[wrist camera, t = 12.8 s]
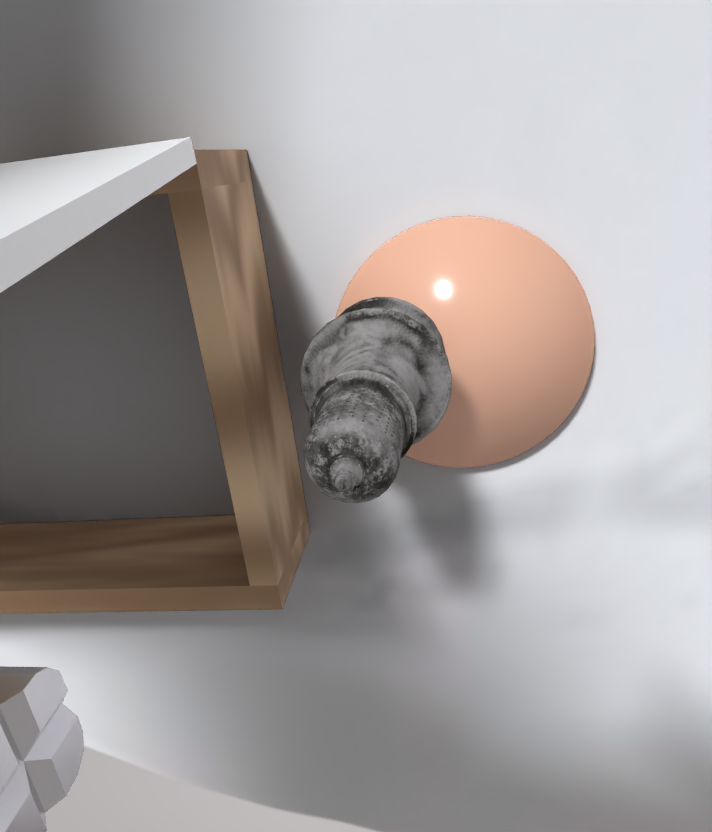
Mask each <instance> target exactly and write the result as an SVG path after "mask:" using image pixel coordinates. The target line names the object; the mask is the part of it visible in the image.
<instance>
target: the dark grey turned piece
mask: <svg viewBox="0 0 712 832" xmlns="http://www.w3.org/2000/svg"><path fill="white" fill-rule="evenodd" d="M300 378H301V392H302V395H303V398H304V401H305V404H306V407H307V410H308V411H309V417H310V428H311V430H310V432H309V434H308V436H307V438H306V442H305V446H304V464H305V468H306V471H307V473H308V476H309V477H310V479H311V480H312V482H313V483H314V485H315V486H316V487H317V488H319V489H320V490H321V491H322V492H323V493H324V494H326V495H328V496H330V497H332V498H333V499H336V500H339V501H343V502H349V503H360V502H366V501H370V500H372V499H374V498H376V497H379V496H380V495H381V494H382V493H384V492H385V491H386V490H387V489H388V488H389V486H390V485H391V483H392V482H393V480H394V479H395V477H396V475H397V471H398V468H399V464H400V459H401V458H402V457H403V456H404V455H405V454H406V453H407V452H408V450H409V449H410V447H411V446H412V445H414V444H416V443H418V442H420V441H421V440H422V439H424V438H425V437H426V436H427V435H428V434H429V433H431V432H432V431H433V430H434V429H435V428H436V426H437V425H438V424H439V422H440V421H441V419H442V418H443V416H444V415H445V413H446V410H447V407H448V404H449V401H450V398H451V388H452V374H451V370H450V366H449V362H448V357H447V355H446V353H445V349H444V345H443V341H442V337H441V334H440V332H439V331H438V329H437V327H436V325H435V323H434V322H433V320H432V319H431V318H430V317H429V316H428V315H427V314H426V313H425V312H424V311H423V310H421V309H420V308H418V307H416V306H415V305H413V304H411V303H410V302H408V301H404V300H401V299H397V298H394V297H373V298H369V299H365V300H361V301H359V302H357V303H355V304H353V305H352V306H350V307H348V308H346V309H345V310H344V311H343V312H342V313H341V314H340V315H339V316H338V317H337V318H336V319H334V320H332V321H331V322H329V323H327V324H326V325H325V326H324V327H323V328H322V329H321V330H320V331H319V332H318V333H317V334H316V335H315V336H314V338H313V339H312V341H311V343H310V345H309V347H308V349H307V350H306V352H305V354H304V358H303V363H302V367H301V371H300Z"/></svg>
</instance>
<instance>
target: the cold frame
mask: <svg viewBox="0 0 712 832" xmlns="http://www.w3.org/2000/svg"><path fill="white" fill-rule="evenodd" d="M194 152H195V157H196V160H197V161H196V163H197V164H195V165H194V166H192V167H191V168H189V169H188V170H186V171H184V172H183V173H181V174H180V175H178V176H177V177H175V178H174V179H172V180H171V181H169V182H168V183H166V184H165V185H163V186H162V187H160V188H159V189H157V190H156V191H154V192H153V193H151V194H150V195H158V194H166V193H167V194H168V199H169V204H170V208H171V213H172V218H173V223H174V227H175V232H176V237H177V242H178V246H179V251H180V256H181V261H182V265H183V270H184V275H185V280H186V284H187V289H188V294H189V299H190V303H191V308H192V313H193V318H194V322H195V327H196V332H197V337H198V341H199V346H200V351H201V356H202V360H203V365H204V370H205V375H206V379H207V384H208V389H209V394H210V398H211V403H212V408H213V413H214V417H215V422H216V427H217V432H218V436H219V441H220V446H221V451H222V455H223V460H224V465H225V470H226V474H227V479H228V484H229V489H230V493H231V498H232V503H233V508H234V512H235V515H221V516H195V517H170V518H145V519H120V520H95V521H70V522H45V523H20V524H0V613H61V612H128V611H195V610H261V609H283V606H284V603H285V601H286V598H287V595H288V593H289V590H290V587H291V584H292V582H293V579H294V576H295V573H296V571H297V568H298V565H299V562H300V560H301V557H302V554H303V551H304V549H305V546H306V543H307V541H308V538H309V535H310V528H309V522H308V516H307V510H306V504H305V498H304V492H303V486H302V480H301V474H300V468H299V462H298V456H297V450H296V444H295V438H294V432H293V426H292V420H291V414H290V408H289V402H288V396H287V390H286V384H285V378H284V372H283V366H282V360H281V354H280V348H279V342H278V336H277V330H276V324H275V318H274V312H273V306H272V300H271V294H270V288H269V282H268V276H267V270H266V264H265V258H264V252H263V246H262V240H261V234H260V228H259V222H258V216H257V209H256V203H255V197H254V191H253V185H252V179H251V173H250V167H249V161H248V155H247V150H194ZM150 195H148V196H150Z"/></svg>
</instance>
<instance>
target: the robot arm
mask: <svg viewBox="0 0 712 832" xmlns="http://www.w3.org/2000/svg"><path fill="white" fill-rule="evenodd" d="M67 691H68V690H67V687H66V685H65V683H64V681H63V678H62V676H61V674H60V671H59V670H55V669H51V668H48V667H2V666H0V832H46V831H47V828H46V817H45V812H46V811H48V810H49V809H50V808H51V807H53V806H54V805H55V804H56V803H58V802H59V801H60V800H62V799H63V798H64V797H65V796H66V795H67V793H68V792H69V790H70V788H71V786H72V784H73V783H74V781H75V779H76V777H77V775H78V772H79V768H80V764H81V759H82V756H83V752H84V741H83V730H82V727H81V724H80V722H79V719H78V716H76V715H75V714H74V713H73V712H72V711H71V710H69V709H68V708H67V707H66V706H65V705H63V704H62V702H63V700H64V697H65V695H66V693H67Z"/></svg>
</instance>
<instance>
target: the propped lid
mask: <svg viewBox="0 0 712 832" xmlns="http://www.w3.org/2000/svg"><path fill="white" fill-rule="evenodd" d="M196 161H197V160H196V157H195V152H194V148H193V145H192V141H191V137H187V138H180V139H173V140H166V141H159V142H151V143H144V144H137V145H130V146H123V147H116V148H109V149H102V150H94V151H87V152H80V153H73V154H66V155H59V156H52V157H45V158H37V159H30V160H23V161H16V162H9V163H2V164H0V293H1V292H3V291H4V290H6V289H7V288H9V287H10V286H12V285H13V284H15V283H16V282H18V281H19V280H21V279H22V278H24V277H25V276H27V275H28V274H30V273H31V272H33V271H34V270H36V269H37V268H39V267H41V266H42V265H44V264H45V263H47V262H48V261H50V260H51V259H53V258H54V257H56V256H57V255H59V254H60V253H62V252H63V251H65V250H66V249H68V248H69V247H71V246H72V245H74V244H75V243H77V242H78V241H80V240H81V239H83V238H84V237H86V236H87V235H89V234H91V233H92V232H94V231H95V230H97V229H98V228H100V227H101V226H103V225H104V224H106V223H107V222H109V221H110V220H112V219H113V218H115V217H116V216H118V215H119V214H121V213H122V212H124V211H125V210H127V209H128V208H130V207H131V206H133V205H134V204H136V203H138V202H139V201H141V200H142V199H144V198H145V197H147V196H148V195H150V194H151V193H153V192H154V191H156V190H157V189H159V188H160V187H162V186H163V185H165V184H166V183H168V182H169V181H171V180H172V179H174V178H175V177H177V176H178V175H180V174H181V173H183V172H184V171H186V170H188V169H189V168H191V167H192V166H194V165H195V164H197V163H196Z"/></svg>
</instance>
